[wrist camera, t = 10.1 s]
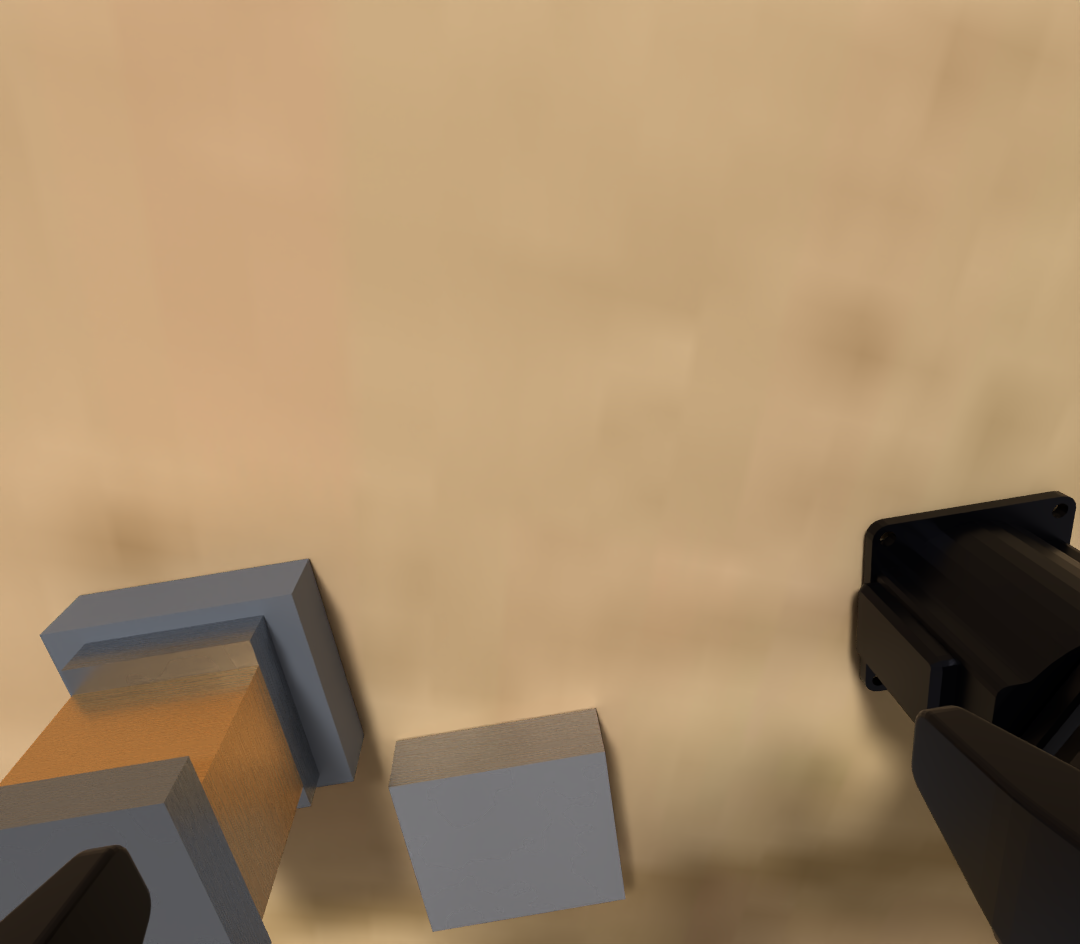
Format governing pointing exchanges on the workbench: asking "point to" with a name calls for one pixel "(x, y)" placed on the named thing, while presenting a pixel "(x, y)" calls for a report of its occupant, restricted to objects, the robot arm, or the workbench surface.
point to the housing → (167, 777)
